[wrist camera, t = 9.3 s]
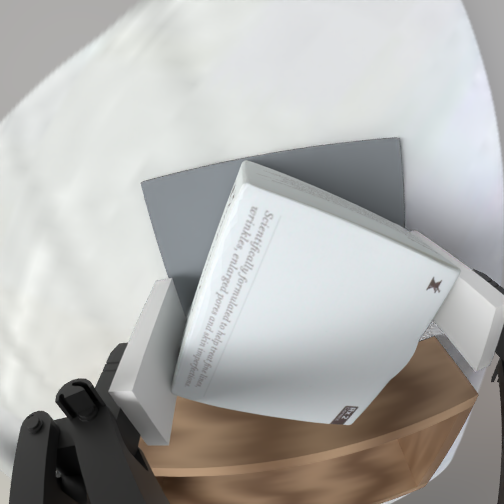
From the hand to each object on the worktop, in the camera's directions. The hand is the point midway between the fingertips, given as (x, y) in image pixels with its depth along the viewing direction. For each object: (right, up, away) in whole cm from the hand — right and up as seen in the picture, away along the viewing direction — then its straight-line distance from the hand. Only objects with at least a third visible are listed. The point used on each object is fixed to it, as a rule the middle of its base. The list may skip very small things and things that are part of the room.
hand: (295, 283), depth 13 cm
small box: (0, +1, 0) cm, 1 cm away
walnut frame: (-1, -12, +6) cm, 13 cm away
